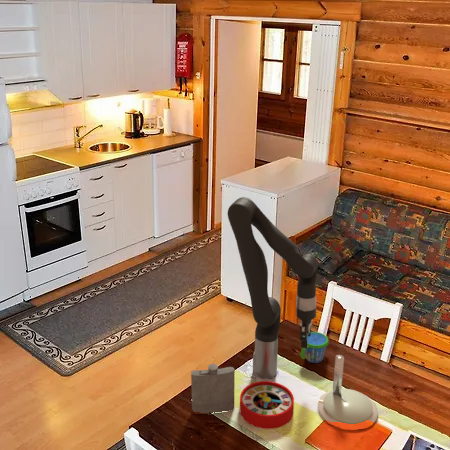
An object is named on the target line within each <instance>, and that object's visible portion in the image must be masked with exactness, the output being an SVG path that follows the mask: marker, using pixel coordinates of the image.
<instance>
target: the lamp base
mask: <svg viewBox="0 0 450 450" xmlns="http://www.w3.org/2000/svg"><path fill="white" fill-rule="evenodd" d="M331 391H333V389H331V390H329V391H327V392H324V393H323V394H322V395H321V396H320V397H319V399H318V402H317V411H318V414H319V416H320V417H321V418H322V419H323V421H325V420H327V421H329V422H339V421H337V420H335V419H333V418H331V417H330V416H329V415H328V414H327V413H326V412H325V410H324V407H323V402H324V397H325V396H326V395H327V394H328V393H329V392H331ZM364 395H365V396H366V397H367V398H368V399H369V400H370V401H371V403H372V406H373V410H372V415H371V417H370V418H369V419H368V420H370V421H372V422H375V421H377V420H378V415H379V411H378V407H377V405H376V404H375V402H374V400H372V399H371V398H370V397H368V396H367V395H366V394H364ZM375 423H376V422H375Z"/></svg>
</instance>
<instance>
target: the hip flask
mask: <svg viewBox="0 0 450 450" xmlns="http://www.w3.org/2000/svg"><path fill="white" fill-rule="evenodd" d="M235 371H236V370H235V367H233V366H227V367H221V368H219V365H218V364H216V363H210V364H209V365H208V366H207V369H202V370H200V369H197V370H196V369H194V370H192V371H191V373H190V377H191V379H190V381H191V386H190V387H191V411H192V410H193V411H194V412H200V413H209V412H210V413H213V412H214V413H215V412H222V411H229V410H230V411H229V412H231V410H232V411H234V410H235ZM233 409H234V410H233Z"/></svg>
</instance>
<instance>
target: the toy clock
mask: <svg viewBox="0 0 450 450" xmlns="http://www.w3.org/2000/svg"><path fill="white" fill-rule="evenodd" d="M294 409H295V398H294V394H293V393H292V391H291V390H290V389H289V388H288V387H287V386H285V385H283V384H281V383H278V382H276V381H275V382H274V381H270V380H269V381H267V380H264V381H263V380H262V381H256V382H253V383H250V384H249V385H246V386H245V387H244V388H243V389H242V391H241V392H240V396H239V414H240V415H241V417H242V419H243V420H244V421H245V422H246V423H247V424H249V425H251V426H252V427H256V428H259V429H264V430H266V429H267V430H271V429H272V430H273V429H278V428H282V427H283V426H285V425H287V424H289V423H290V421H291V420H292V418H293V416H294Z"/></svg>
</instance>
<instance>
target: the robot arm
mask: <svg viewBox="0 0 450 450" xmlns="http://www.w3.org/2000/svg"><path fill="white" fill-rule="evenodd" d="M227 218H228V222H229V224H230V227H231V230H232V232H233V234H234V238H235V241H236V244H237V250H238V253H239V254H238V255H239V258H240V262H241V266H242V270H243V273H244V277H245V281H246V285H247V288H248V292H249V296H250V303H251V311H252V316H253V320H254V321H255V323H256V327H255V330H254V332H255V333H254V352H253V354H252V374H254V375H255V376H257V377H258V378H260V379H266V380H267V379H272V378H274V377H275V376H276V375H277V373H278V372H277V371H278V352H279V351H278V346H279V333H280V329H281V319H282V318H281V314H282V308H281V305H280V302H279V301H278V299H276V298H274V297H270V296H269V294H268V293H269V292H268V283H269V282H268V281H269V271H268V264H267V260H266V256H265V253H264V251H263V249H262V247H261V245H260V244H259V243H258V241H257V240H256V238H255V235H254V231H253V228H252V226H253V227H255V229H256V230H257V231H258V232H259V233H260V234H261V235H262V237H263V238H264V240H265V242H266V243H267V245H268V246H269V247H270V248H271V250H273V251H274V252H275V253H276V254H278V255H279V256H280V257H281V258H282V259H283V260H284V261H285V262H286V263H287V265H288V267H289V268H290V269H291V270H292V271H293V272H294V274H295V275H297V276H298V277H299V278H298V281H297V284H296V300H295V301H296V317H297V318H298V319H299V320H301V321H300V322H299V325H300V326H299V342H300V343H301V344H300V345H301V349H302V348H307V339H308V336H309V337H310V336H311V332H312V330H311V329H312V327H313V320H314V319H315V318H316V317H317V294H316V293H317V289H316V288H317V286H316V285H317V284H316V283H317V275H318V267H319V264H318V260H317V257H315V256H314V255H313V254H310V253H306V254H303V255H301V253H300V252H299V246H298V245H297V244H296V243H295V242H293V241H292V240H291V239H290V238H289V237H288V236H286V235H285V233H283V232H282V231H281V230H280V229H279V228H278V227H276V225H275V224H273V222H272V221H271V220H270V219H269V218H268V217H267V216H266V214H264V213H263V211H262V210H261V209H260V208H259V207H258V204H256V203H255V202H254V201H253V200H252V199H251V198H249V197H245V196H241V197H239V198H237V199H236V200H234V202H232V203H231V204H230V206H229V207H228V209H227ZM303 336H305V337H303Z"/></svg>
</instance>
